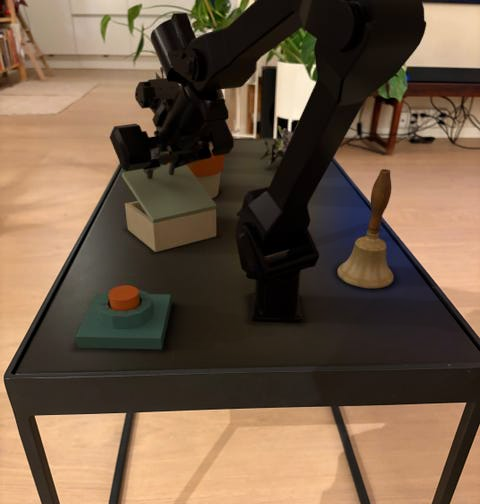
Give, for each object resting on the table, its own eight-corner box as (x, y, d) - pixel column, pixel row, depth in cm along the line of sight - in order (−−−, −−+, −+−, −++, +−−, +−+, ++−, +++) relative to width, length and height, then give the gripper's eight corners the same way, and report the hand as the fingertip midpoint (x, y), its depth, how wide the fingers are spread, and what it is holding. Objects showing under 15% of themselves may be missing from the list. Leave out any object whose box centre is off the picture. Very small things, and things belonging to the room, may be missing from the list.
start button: (137, 312, 62) (135, 300, 61) (107, 312, 62) (105, 299, 61) (142, 297, 65) (141, 285, 64) (113, 296, 65) (112, 284, 64)
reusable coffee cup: (238, 196, 104) (240, 119, 96) (182, 208, 99) (179, 126, 90) (208, 179, 113) (207, 106, 105) (155, 188, 107) (150, 112, 99)
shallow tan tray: (127, 229, 90) (124, 203, 87) (185, 216, 96) (184, 190, 93) (155, 252, 83) (153, 224, 80) (216, 236, 88) (216, 209, 86)
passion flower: (298, 195, 121) (309, 163, 110) (253, 184, 121) (260, 150, 110) (306, 157, 125) (318, 122, 114) (262, 146, 125) (270, 110, 114)
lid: (121, 176, 85) (123, 150, 81) (183, 165, 90) (188, 140, 86) (152, 223, 80) (156, 199, 76) (215, 208, 86) (222, 185, 82)
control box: (161, 349, 61) (160, 325, 59) (77, 348, 61) (73, 323, 59) (171, 305, 70) (170, 282, 68) (97, 303, 70) (94, 280, 68)
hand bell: (384, 262, 81) (404, 161, 72) (400, 289, 74) (424, 180, 66) (332, 262, 81) (346, 160, 72) (343, 289, 74) (359, 180, 65)
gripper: (225, 57, 77) (190, 118, 91) (106, 65, 68) (87, 132, 82) (253, 123, 76) (214, 175, 90) (137, 140, 67) (113, 195, 81)
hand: (159, 168), depth 85 cm, fingers closed on lid, 5 cm apart
